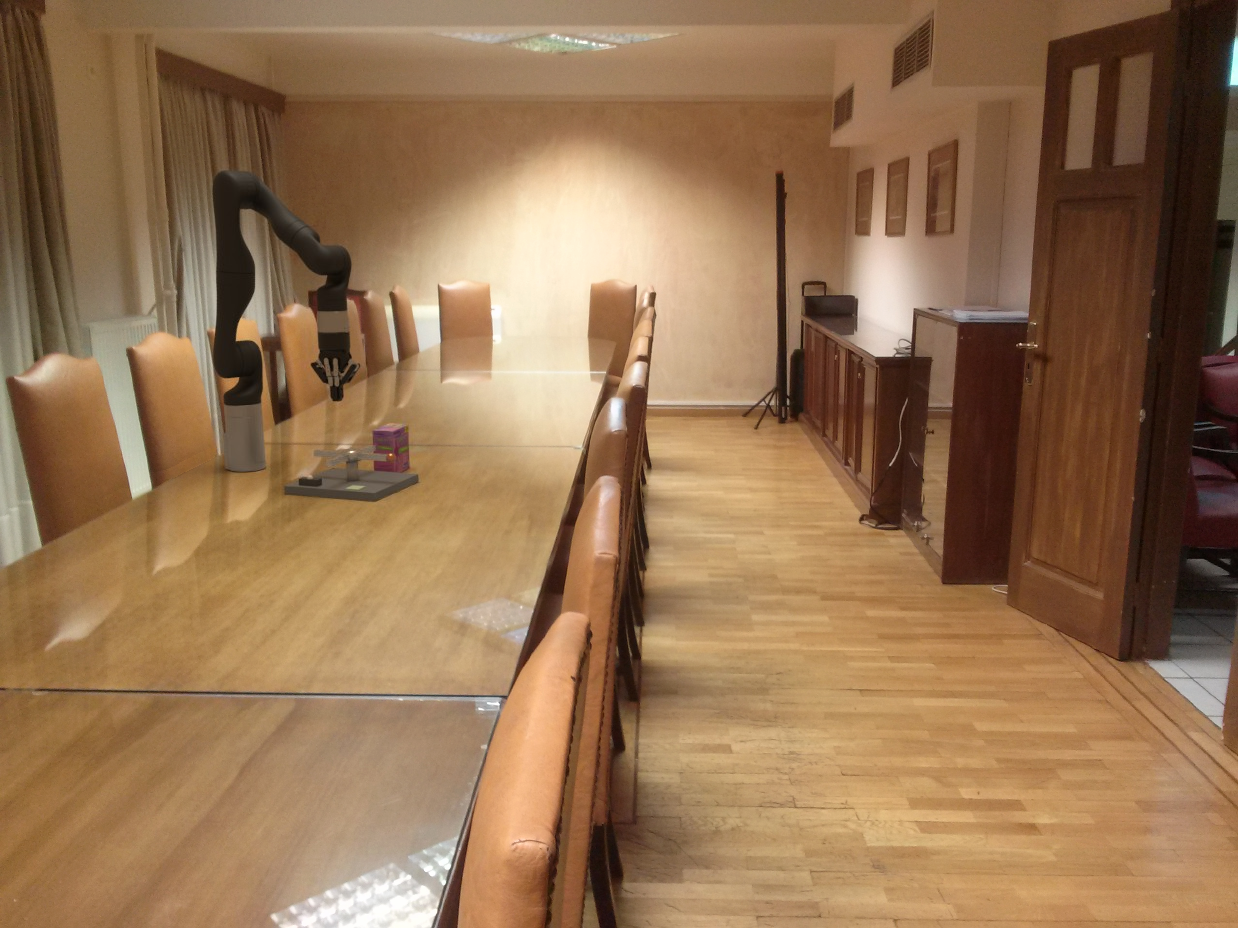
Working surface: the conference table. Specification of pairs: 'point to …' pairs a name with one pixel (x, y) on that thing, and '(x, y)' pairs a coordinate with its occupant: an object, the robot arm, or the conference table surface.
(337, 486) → the stand
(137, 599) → the conference table surface
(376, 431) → the box
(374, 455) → the capstan
